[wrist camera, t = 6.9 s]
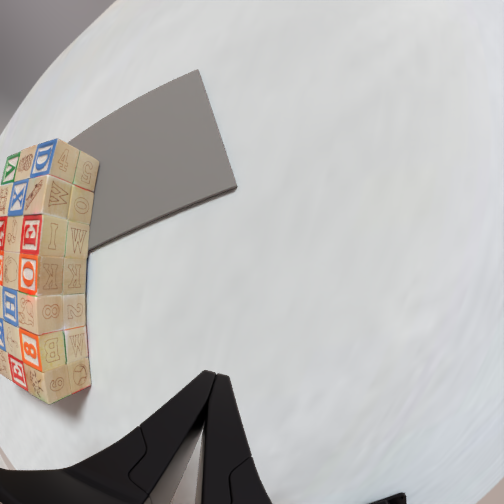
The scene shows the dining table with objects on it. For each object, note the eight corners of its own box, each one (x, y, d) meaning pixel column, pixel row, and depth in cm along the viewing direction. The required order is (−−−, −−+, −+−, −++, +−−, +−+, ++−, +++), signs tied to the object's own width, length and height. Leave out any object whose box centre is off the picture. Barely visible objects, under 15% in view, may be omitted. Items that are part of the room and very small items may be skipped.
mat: (237, 187, 21) (236, 185, 20) (35, 278, 24) (32, 278, 23) (199, 71, 22) (197, 69, 22) (29, 176, 26) (27, 175, 25)
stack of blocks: (102, 160, 23) (31, 174, 25) (59, 136, 17) (-6, 160, 18) (92, 386, 21) (22, 353, 23) (48, 407, 15) (-16, 362, 17)
